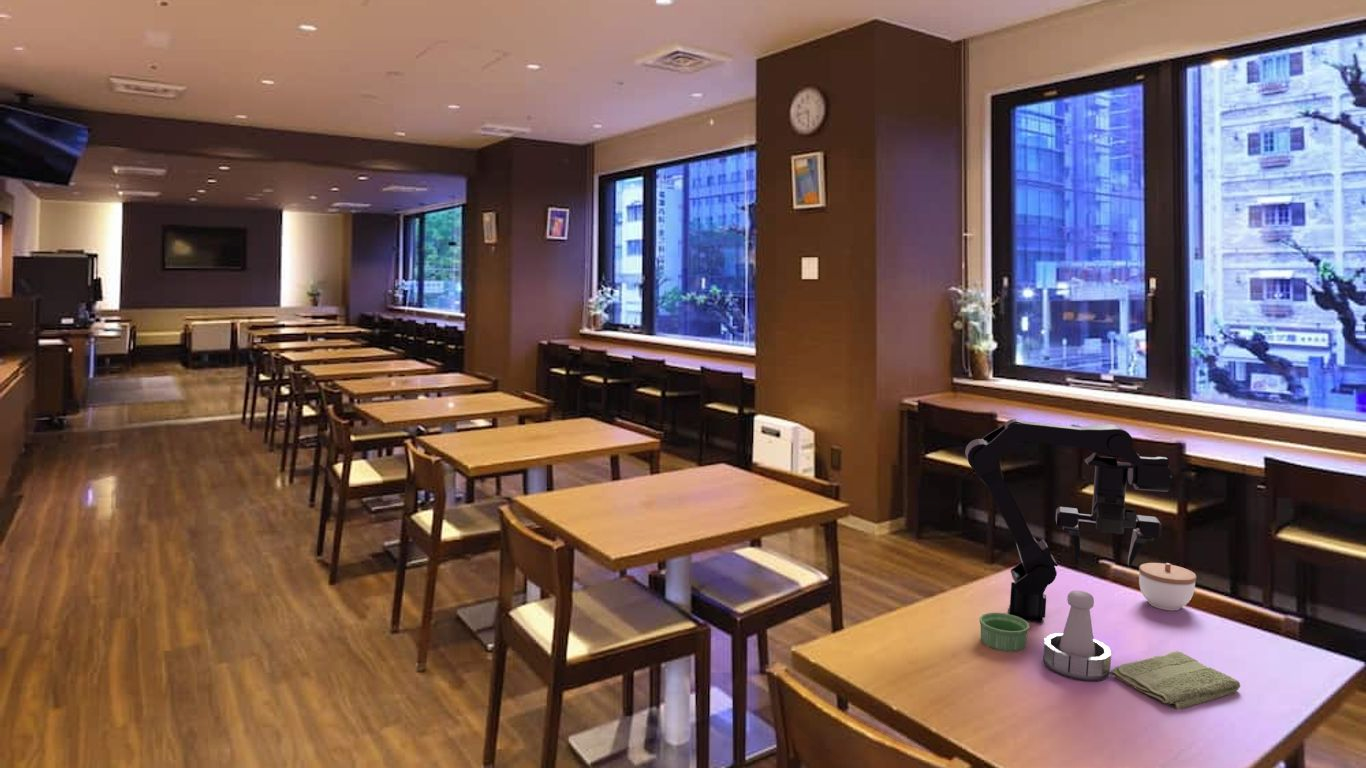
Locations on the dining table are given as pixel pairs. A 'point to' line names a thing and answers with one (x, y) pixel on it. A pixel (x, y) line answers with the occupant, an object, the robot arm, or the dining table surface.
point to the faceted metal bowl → (1076, 661)
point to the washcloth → (1176, 679)
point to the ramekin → (1003, 631)
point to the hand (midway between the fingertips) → (1103, 562)
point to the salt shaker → (1078, 626)
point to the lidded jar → (1166, 585)
